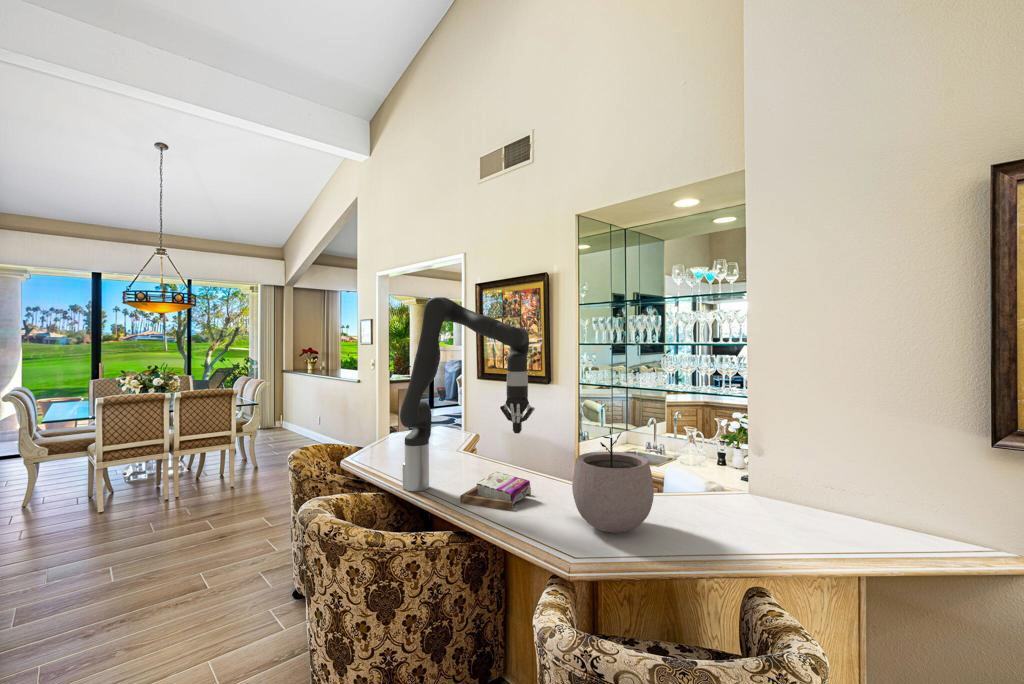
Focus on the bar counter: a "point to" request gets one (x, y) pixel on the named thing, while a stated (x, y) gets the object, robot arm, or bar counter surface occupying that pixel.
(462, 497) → the keeper frame
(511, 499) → the candy bar box
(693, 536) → the bar counter surface
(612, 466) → the plant pot
